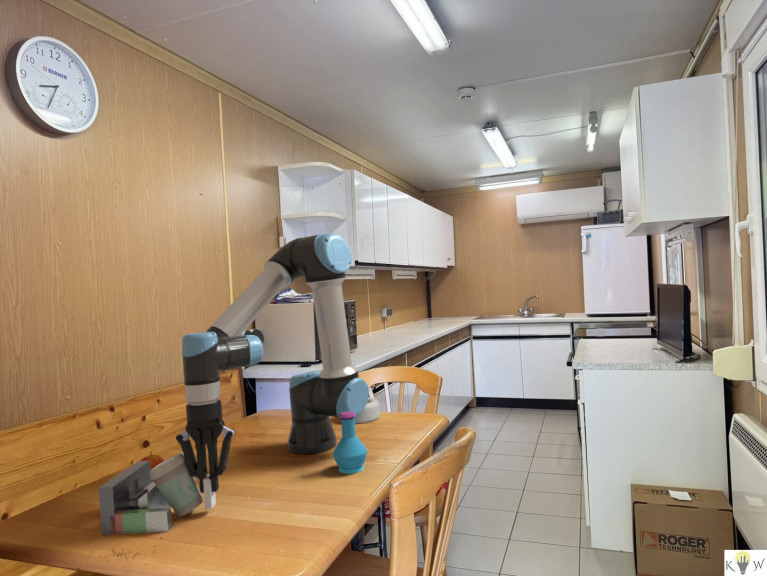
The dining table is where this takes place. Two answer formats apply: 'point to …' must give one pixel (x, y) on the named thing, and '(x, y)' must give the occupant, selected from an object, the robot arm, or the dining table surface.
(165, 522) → the gauge base
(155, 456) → the fruit
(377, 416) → the donut shape
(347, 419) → the perfume bottle
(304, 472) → the dining table surface
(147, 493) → the grey rectangular block
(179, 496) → the coffee cup
